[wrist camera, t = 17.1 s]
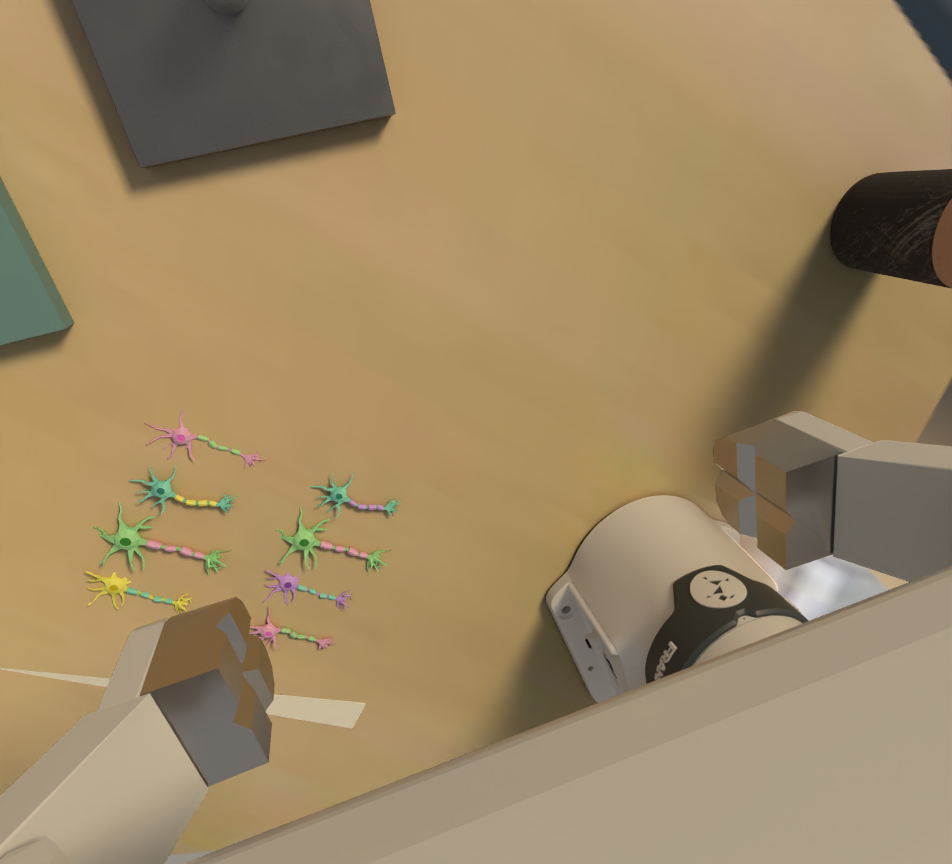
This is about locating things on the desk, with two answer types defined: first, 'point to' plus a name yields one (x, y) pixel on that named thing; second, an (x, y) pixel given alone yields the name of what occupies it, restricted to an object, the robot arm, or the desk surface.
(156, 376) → the desk surface
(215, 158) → the desk surface
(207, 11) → the stand
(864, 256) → the travel mug
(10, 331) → the hub plate
